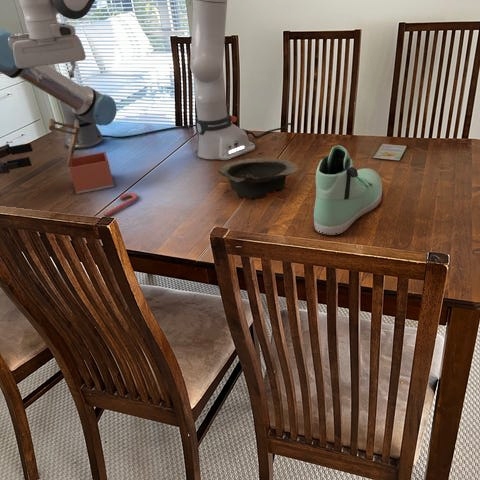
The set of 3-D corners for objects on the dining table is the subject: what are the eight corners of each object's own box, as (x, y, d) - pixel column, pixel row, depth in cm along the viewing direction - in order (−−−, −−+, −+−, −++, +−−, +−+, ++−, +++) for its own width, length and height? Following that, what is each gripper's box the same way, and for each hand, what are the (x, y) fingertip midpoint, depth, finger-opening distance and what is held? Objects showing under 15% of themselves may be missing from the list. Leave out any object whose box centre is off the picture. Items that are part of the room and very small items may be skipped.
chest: (110, 176, 172) (105, 151, 167) (113, 186, 164) (108, 161, 159) (74, 182, 169) (68, 158, 164) (76, 193, 161) (69, 168, 156)
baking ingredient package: (373, 156, 168) (382, 143, 180) (373, 158, 168) (382, 144, 180) (399, 159, 165) (407, 145, 176) (399, 160, 165) (406, 146, 176)
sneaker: (389, 187, 148) (396, 123, 138) (356, 242, 123) (361, 168, 112) (346, 181, 154) (350, 119, 144) (306, 232, 129) (307, 161, 118)
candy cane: (93, 214, 147) (92, 209, 146) (129, 194, 157) (128, 190, 156) (106, 218, 144) (105, 214, 143) (142, 198, 154) (141, 194, 153)
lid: (78, 119, 159) (50, 112, 155) (79, 128, 151) (50, 120, 147) (69, 157, 164) (42, 150, 160) (70, 167, 156) (42, 160, 152)
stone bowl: (243, 213, 140) (240, 183, 136) (209, 189, 160) (205, 162, 156) (313, 190, 149) (312, 161, 144) (272, 170, 169) (270, 144, 165)
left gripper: (-31, 164, 162) (35, 152, 167) (-42, 193, 141) (33, 178, 146) (-39, 142, 158) (28, 131, 163) (-52, 170, 137) (25, 155, 142)
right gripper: (5, 36, 135) (20, 86, 142) (79, 28, 140) (90, 76, 147) (6, 33, 140) (21, 82, 147) (78, 25, 145) (89, 72, 152)
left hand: (31, 153), depth 155 cm, fingers open, 13 cm apart
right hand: (56, 79), depth 147 cm, fingers open, 8 cm apart
